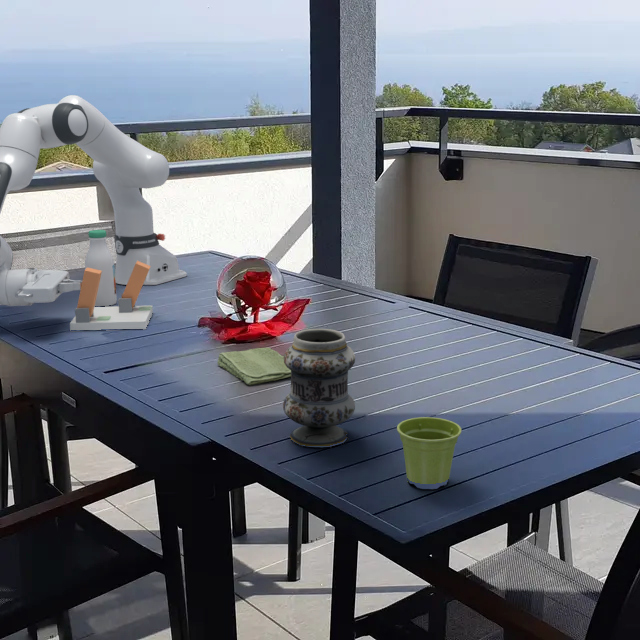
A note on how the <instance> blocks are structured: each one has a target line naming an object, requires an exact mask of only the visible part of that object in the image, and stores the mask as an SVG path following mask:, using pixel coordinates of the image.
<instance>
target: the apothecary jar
mask: <svg viewBox="0 0 640 640" xmlns="http://www.w3.org/2000/svg"><path fill="white" fill-rule="evenodd" d="M283 356H284V363H285V365H286V366H287V368H289V369H290V370H291V377H290V392H289V393H287V395H286V396H285V398H284V400H283V403H282V408H283V412H284V414H285V415H286V416H287V417H288V419H290V420H291V421H293V422H294V423H295V424H299V425H300V426H299V427H297V428H296V429H294V430H292V431H291V433H290V435H289V438H291V439H290V441H291V440H293V441H294V442H296V443H298V444H300V445H305V446H330V445H333V444H337V443H340V442H343V441H344V440H345V439H346V438H348V437H347V436H346V434H348V435H349V433H348V431H346V430H345V429H344V428H342V427H339V426H338V425H340V424H343V423H345V422H346V421H348V420H349V419H350V418H351V417H352V416H353V414H354V413H355V411H356V402H355V400H354V398H353V397H352V396H351V395H350V393H349V389H348V387H349V386H348V383H349V382H348V381H349V380H348V379H349V371H350V370H351V369H352V368H353V366H354V364H355V362H356V355H355V352H354V351H353V349H352V348H351V347H350V346H349V345H348V344H347V341H346V336H345V334H344V332H341V331H338V330H335V329H330V328H309V329H302V330H300V331H297V332H296V333H295V334H294V336H293V342H292V345H291V346H289V347H288V348H287V349H286V351H285V352H284V354H283ZM294 442H293V443H294ZM300 445H299V446H300Z"/></svg>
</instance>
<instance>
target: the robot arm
mask: <svg viewBox="0 0 640 640" xmlns="http://www.w3.org/2000/svg"><path fill="white" fill-rule="evenodd" d="M75 144H76V146H78V147H79V148H80V149H81V150H82V151H83V152H84V153H85V154H86V155H88V157H90V159H92V160H93V162H92V170H93V175H94V177H95V178H96V180H98V181H99V182H100V183H101V184H102V186H103V187H104V189H105V191H106V192H107V194H108V196H109V198H110V201H111V205H112V209H113V215H114V226H115V234H114V248H115V254H116V258H115V260H116V261H115V262H116V263H115V280H116V284H119V285H126V286H127V283H128V281H129V278H130V276H131V273H132V271H133V269H134V266H135V264H136V262H137V261H140V262H142V263H144V264H147V265H149V266H151V267H150V269H149V272H148V274H147V276H146V279H145V281H144V284H143V285H144V286H145V285H147V286H156V285H160V284H163V283H167V282H171V281H174V280H178V279H181V278H185V277H187V276H188V273H187V272H186V271H185V270H182V269H180V266H179V261H178V258H177V257H176V255H175V254H173V253H172V252H171V251H169V250H167V248H165V247H163V246H162V245H161V244H160V242H159V241H162V242H163V241H165V240H166V235H165V234H164V233H158V234H157V233H156V232H154V219H153V218H154V217H153V215H154V213H153V209H152V205H151V204H150V203H149V202H148V201H147V200H145V198H144V197H143V195H142V193H141V191H140V189H151V188H152V189H154V188H158V187H161V186H163V185H164V184H165V183H166V182H167V181H168V179H169V176H170V165H169V162H168V159H167V158H166V157H165V155H163V154H161V153H160V152H157V151H154V150H152V149H150V148H148V147H146V146H144V145H143V144H142V143H140V142H138V141H136V140H135V139H133V138H131V136H129V135H127V134H125V133H124V132H122V131H121V130H120V129H119V128H118V127H117V126H115V125H114V124H113V123H112V121H110V119H108V118H107V117H106V116H105V114H103V113H102V112H101V111H100V110H99V109H97V107H95V105H93V104H92V103H90V102H89V101H87V100H86V99H84V98H83V97H81V96H79V95H77V94H76V95H75V94H70V95H67V96H64V97H63V98H61V99H60V100H59V101H58V103H48V104H47V103H45V104H42V105H38V106H35V107H30V108H29V107H28V108H24V109H21V110H19V111H17V112H14V113H10V114H8V115H7V116H6V117H5V118H4V119H3V121H2V123H1V125H0V214H1V212H2V209H3V206H4V203H5V201H6V198H7V196H8V195H9V192H11V191H15V192H16V191H20V190H23V189H25V188H27V187H28V186H29V185H30V183H31V182H32V179H33V177H34V175H35V172H36V169H37V166H38V161H39V156H40V150H41V149H55V148H59V147H63V146H67V145H69V146H71V145H75ZM13 259H14V253H13V250H12V248H11V246H10V245H9V243H8V242H7V241H6V240H5V239H4V238H3V237H2V236H1V234H0V306H7V307H23V306H24V307H25V306H32V305H34V304H35V303H39V304H41V303H42V304H44V303H45V304H46V303H52V302H55V301H56V300H57V299H58V298H59V297H60V296H61V294H63V293H69V292H72V291H73V292H74V291H80V290H81V285H82V280H74V279H70V278H71V277H70V273H69V271H67V270H62V269H61V270H59V269H58V270H55V269H39V270H38V268H37V267H29V268H23V269H21V268H20V269H19V268H18V269H15V268H13V269H12V266H13Z"/></svg>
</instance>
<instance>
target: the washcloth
mask: <svg viewBox="0 0 640 640" xmlns="http://www.w3.org/2000/svg"><path fill="white" fill-rule="evenodd" d="M217 365H218V366H219V367H221V368H223V369H224V370H225V371H226V372H228V373H230V374H231V375H233V376H235V377H236V378H238V379H240V380H241V381H243V382H244V383H245V384H246V385H249V386H255V385H257V384H262V383H267V382H273V381H278V380H283V379H285V378H286V379H287V378H291V370H290V369H289V368H287V366H286V365H285V363H284V355H282V354H280V353H279V352H278V350H274V349H272V348H271V347H260V348H259V347H256V348H249V349H247V350H241V351H239V350H238V351H237V350H234V351H226V352H224V351H223V352H220V353H219V355H218V358H217Z"/></svg>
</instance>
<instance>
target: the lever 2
mask: <svg viewBox="0 0 640 640" xmlns="http://www.w3.org/2000/svg"><path fill="white" fill-rule="evenodd" d="M150 267H151V266H149V265H147V264H144V263H142V262H140V261H137V262H136V264H135V266H134V269H133V271H132V273H131V276H130V278H129V281H128V283H127V285H126V286H125V288H124V291H123V295H122V297H121V298H132V308H133V307H134V305H135V306H136V303H137V301H138V300H137V299H138V298H139V295H140V293H141V290H142V288H143V284H144V281H145V279H146V276H147V274H148V272H149V269H150Z"/></svg>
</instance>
